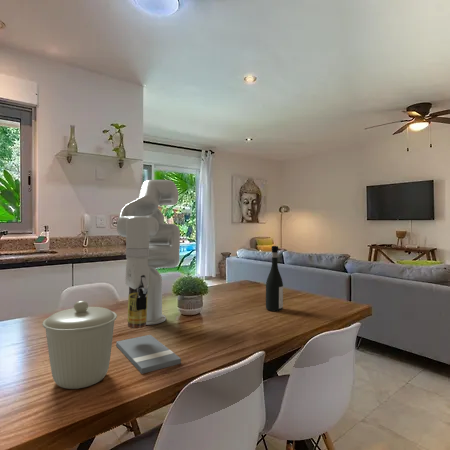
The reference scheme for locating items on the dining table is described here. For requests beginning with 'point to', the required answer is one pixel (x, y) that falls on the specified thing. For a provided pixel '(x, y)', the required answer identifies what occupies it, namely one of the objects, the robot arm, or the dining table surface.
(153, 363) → the board
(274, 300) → the wine bottle
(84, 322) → the canister
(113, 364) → the dining table surface
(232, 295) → the dining table surface
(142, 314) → the sauce bottle
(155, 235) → the robot arm
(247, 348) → the dining table surface
